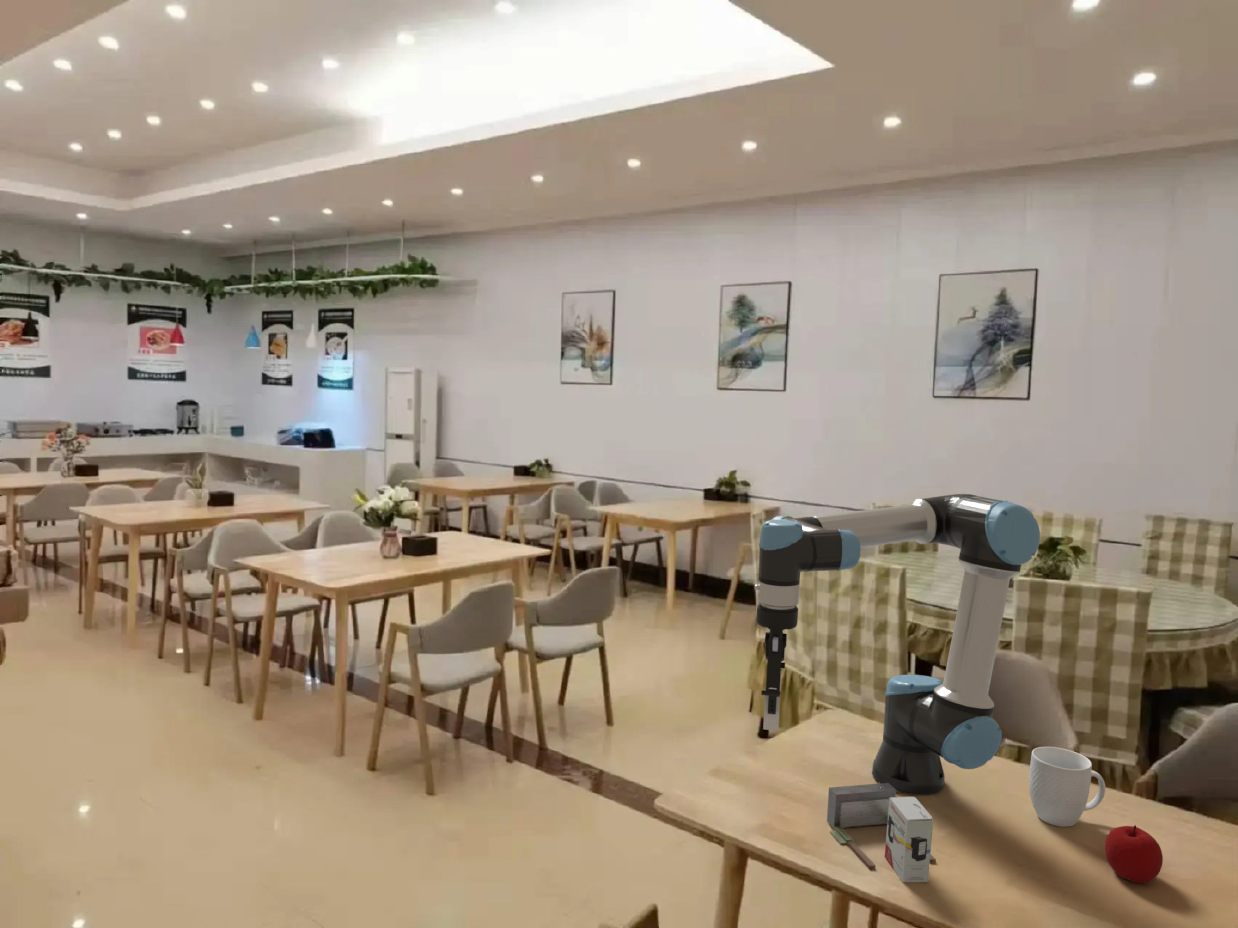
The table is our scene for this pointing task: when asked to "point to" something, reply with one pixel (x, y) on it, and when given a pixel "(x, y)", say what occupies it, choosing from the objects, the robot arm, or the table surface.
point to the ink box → (909, 839)
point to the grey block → (859, 805)
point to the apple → (1133, 854)
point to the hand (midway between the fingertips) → (771, 715)
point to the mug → (1062, 785)
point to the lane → (846, 839)
